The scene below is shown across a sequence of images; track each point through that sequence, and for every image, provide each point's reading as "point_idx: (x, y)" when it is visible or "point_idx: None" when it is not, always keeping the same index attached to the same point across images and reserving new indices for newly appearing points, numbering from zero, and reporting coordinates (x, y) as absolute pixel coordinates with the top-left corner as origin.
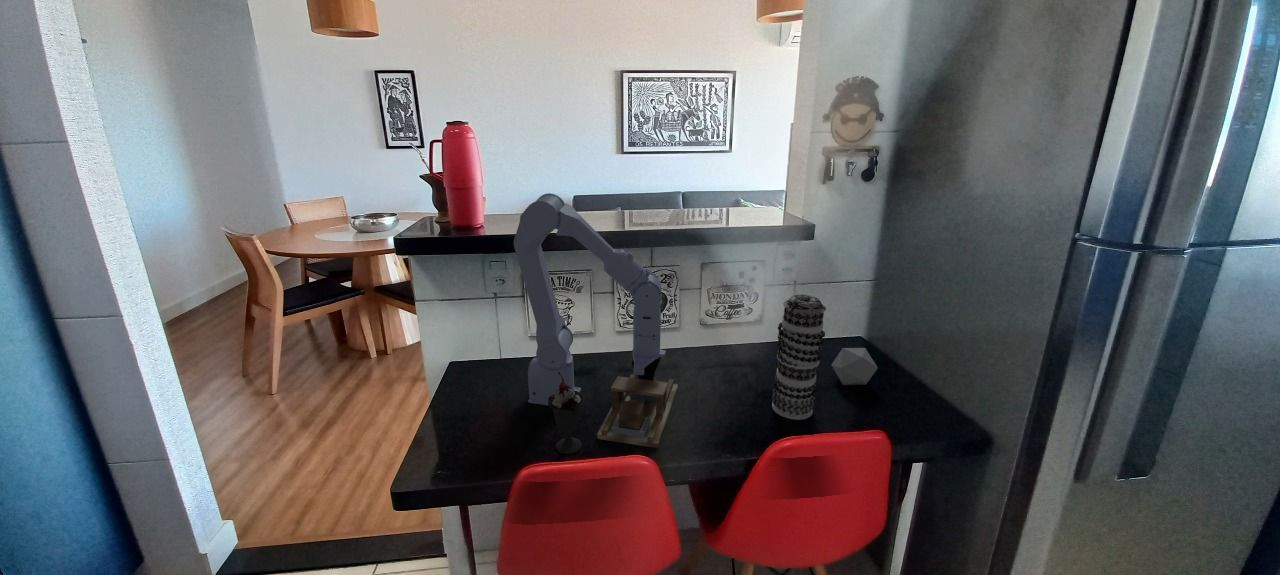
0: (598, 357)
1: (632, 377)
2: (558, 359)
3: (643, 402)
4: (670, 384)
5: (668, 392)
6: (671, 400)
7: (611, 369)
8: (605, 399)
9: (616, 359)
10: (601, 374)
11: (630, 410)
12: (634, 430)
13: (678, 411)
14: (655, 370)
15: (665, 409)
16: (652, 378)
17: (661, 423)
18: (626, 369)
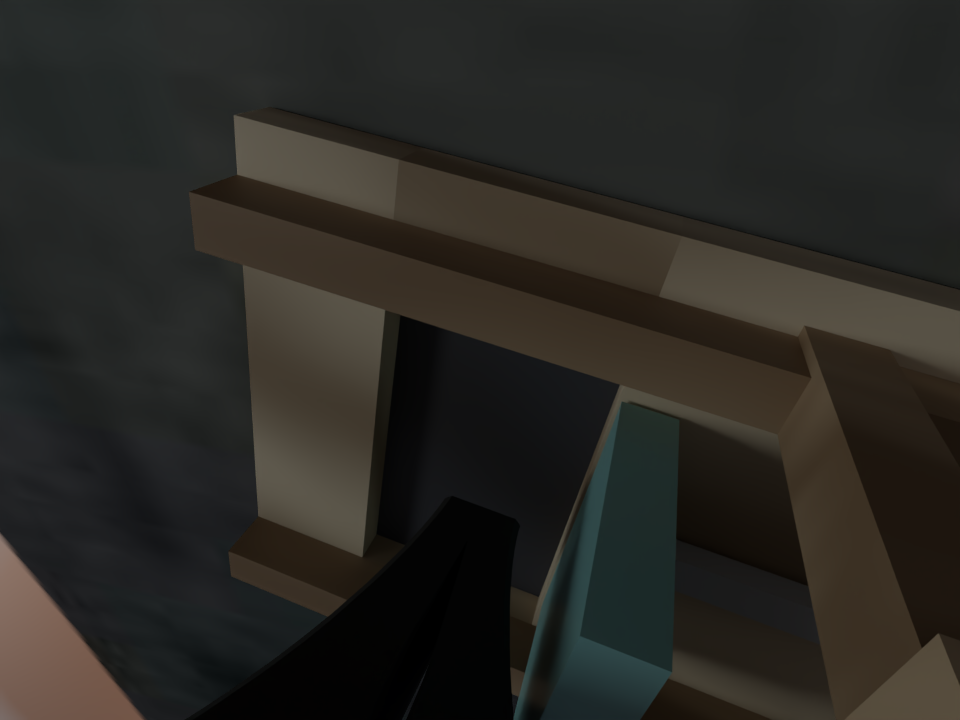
0: (77, 611)
1: (281, 581)
2: None
3: (709, 573)
4: (320, 249)
5: (534, 302)
6: (630, 236)
7: (167, 583)
8: None
9: (48, 537)
10: (240, 639)
11: None
12: None
13: (834, 126)
14: (318, 698)
15: (871, 344)
16: (508, 703)
17: None
18: (129, 508)
